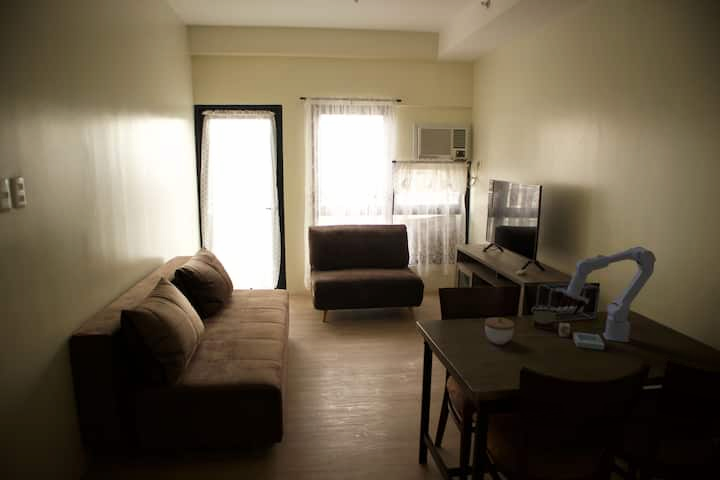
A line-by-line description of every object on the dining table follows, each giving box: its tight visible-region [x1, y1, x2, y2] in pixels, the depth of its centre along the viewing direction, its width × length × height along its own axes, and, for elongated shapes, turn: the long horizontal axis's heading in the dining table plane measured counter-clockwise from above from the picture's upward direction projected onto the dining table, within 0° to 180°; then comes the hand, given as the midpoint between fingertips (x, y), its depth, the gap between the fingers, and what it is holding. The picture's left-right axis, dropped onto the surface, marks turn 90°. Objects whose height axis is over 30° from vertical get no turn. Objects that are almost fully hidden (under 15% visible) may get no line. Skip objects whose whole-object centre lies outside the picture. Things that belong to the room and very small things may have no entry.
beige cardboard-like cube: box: [558, 322, 571, 338], centre depth 225 cm, size 4×5×5 cm
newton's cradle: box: [535, 281, 601, 324], centre depth 247 cm, size 30×10×18 cm, turn 106°
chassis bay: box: [571, 331, 605, 351], centre depth 216 cm, size 11×12×2 cm
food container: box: [531, 304, 558, 329], centre depth 236 cm, size 12×6×10 cm, turn 84°
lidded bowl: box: [484, 317, 515, 345], centre depth 215 cm, size 13×13×11 cm
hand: (565, 311), depth 224 cm, fingers open, 7 cm apart
